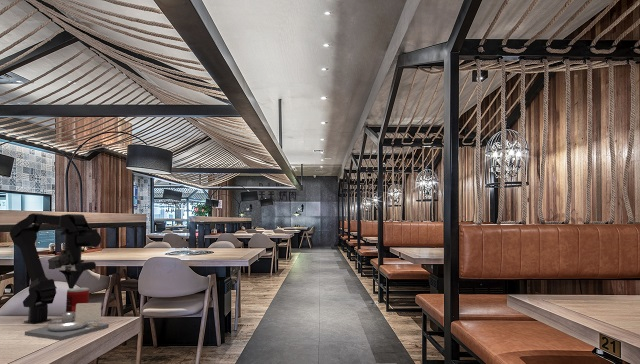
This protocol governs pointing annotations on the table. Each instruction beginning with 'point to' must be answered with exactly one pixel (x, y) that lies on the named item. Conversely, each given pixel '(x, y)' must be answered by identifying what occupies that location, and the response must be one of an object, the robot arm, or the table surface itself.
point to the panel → (63, 335)
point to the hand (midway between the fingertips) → (71, 288)
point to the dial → (77, 317)
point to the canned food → (76, 298)
